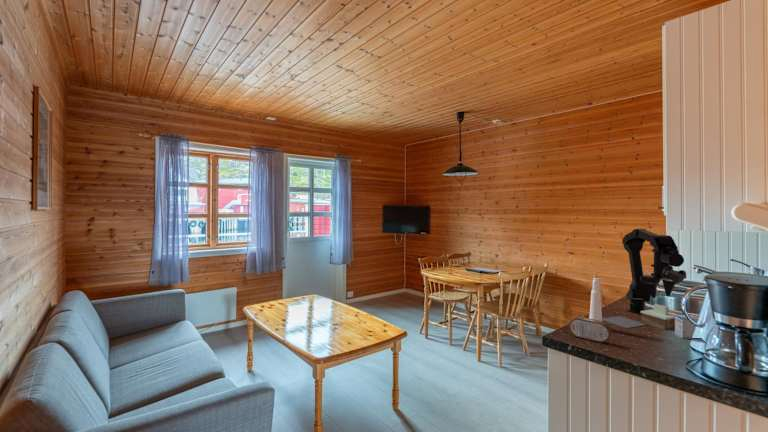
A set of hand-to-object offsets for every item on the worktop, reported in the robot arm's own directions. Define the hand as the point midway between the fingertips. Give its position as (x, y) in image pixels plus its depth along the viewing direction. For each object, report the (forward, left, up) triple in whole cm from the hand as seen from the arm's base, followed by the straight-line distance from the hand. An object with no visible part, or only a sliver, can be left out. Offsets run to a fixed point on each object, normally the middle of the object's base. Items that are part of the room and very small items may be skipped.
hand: (660, 297), depth 157 cm
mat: (+13, -8, -13) cm, 20 cm away
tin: (+46, +3, -13) cm, 48 cm away
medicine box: (+5, +14, -13) cm, 20 cm away
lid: (0, 0, -10) cm, 10 cm away
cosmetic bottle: (+31, -7, -13) cm, 34 cm away
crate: (0, 0, -13) cm, 13 cm away
